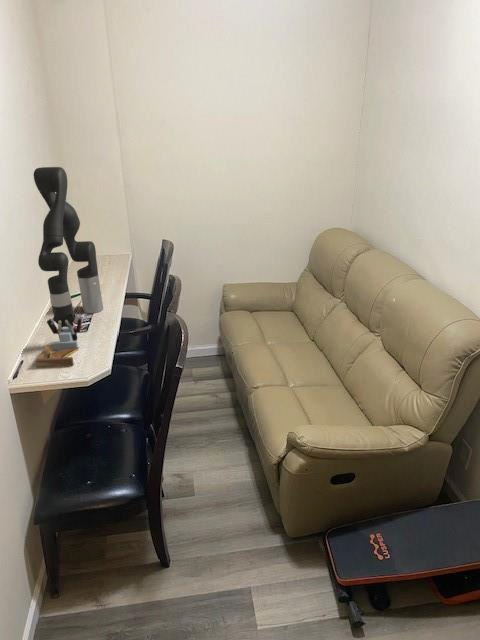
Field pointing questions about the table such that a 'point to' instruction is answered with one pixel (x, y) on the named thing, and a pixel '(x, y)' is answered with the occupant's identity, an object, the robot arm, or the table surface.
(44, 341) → the table surface
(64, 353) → the shard
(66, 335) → the grey inverted t block
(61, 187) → the robot arm
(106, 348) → the table surface
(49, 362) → the corner fence
